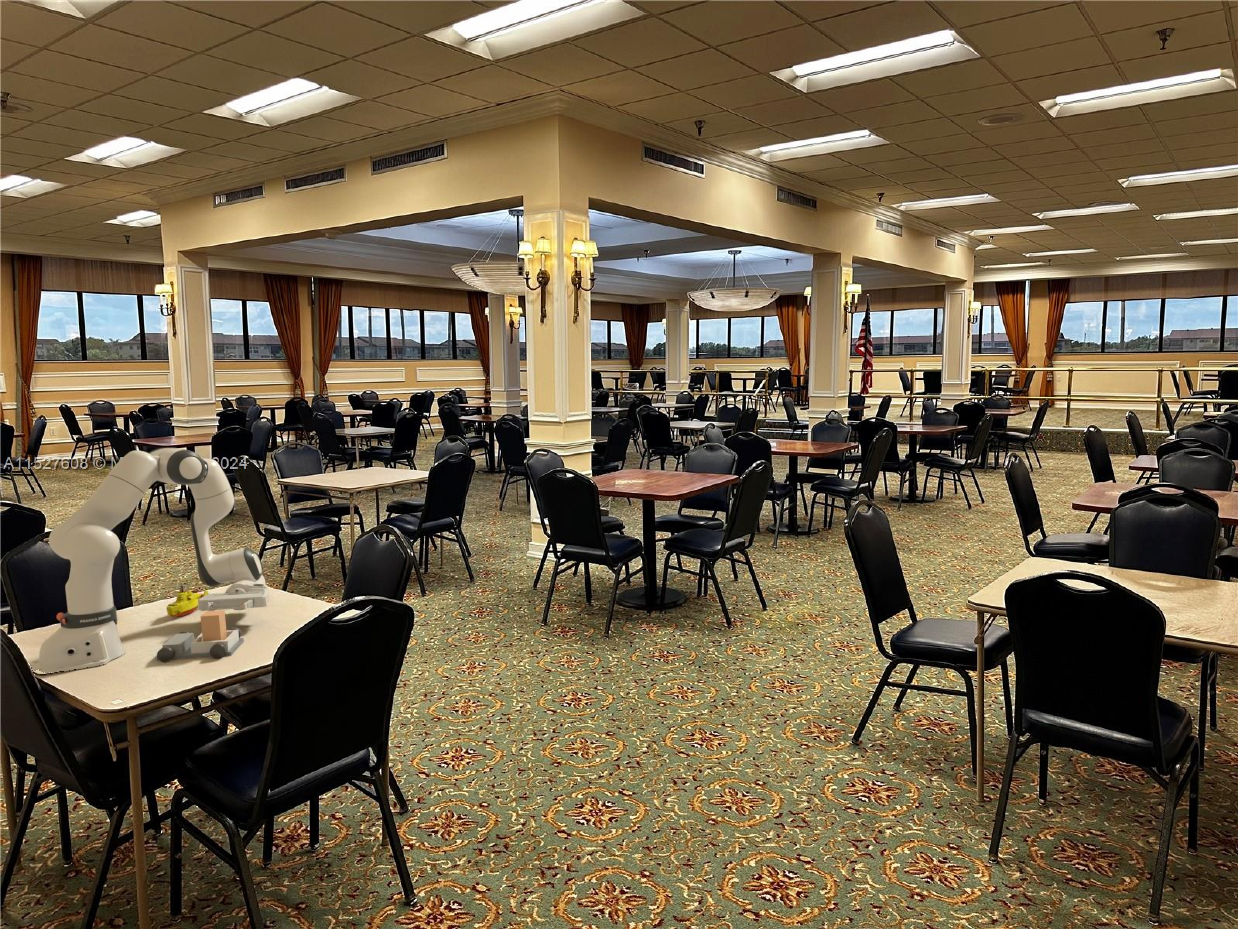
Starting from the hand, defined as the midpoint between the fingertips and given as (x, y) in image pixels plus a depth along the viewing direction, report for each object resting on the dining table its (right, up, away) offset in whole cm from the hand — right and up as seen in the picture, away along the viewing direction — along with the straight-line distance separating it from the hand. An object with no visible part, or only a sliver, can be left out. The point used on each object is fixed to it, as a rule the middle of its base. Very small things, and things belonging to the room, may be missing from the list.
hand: (226, 608), depth 252 cm
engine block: (+2, -9, -11) cm, 14 cm away
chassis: (-2, -10, -11) cm, 15 cm away
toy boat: (-26, -7, +26) cm, 37 cm away
